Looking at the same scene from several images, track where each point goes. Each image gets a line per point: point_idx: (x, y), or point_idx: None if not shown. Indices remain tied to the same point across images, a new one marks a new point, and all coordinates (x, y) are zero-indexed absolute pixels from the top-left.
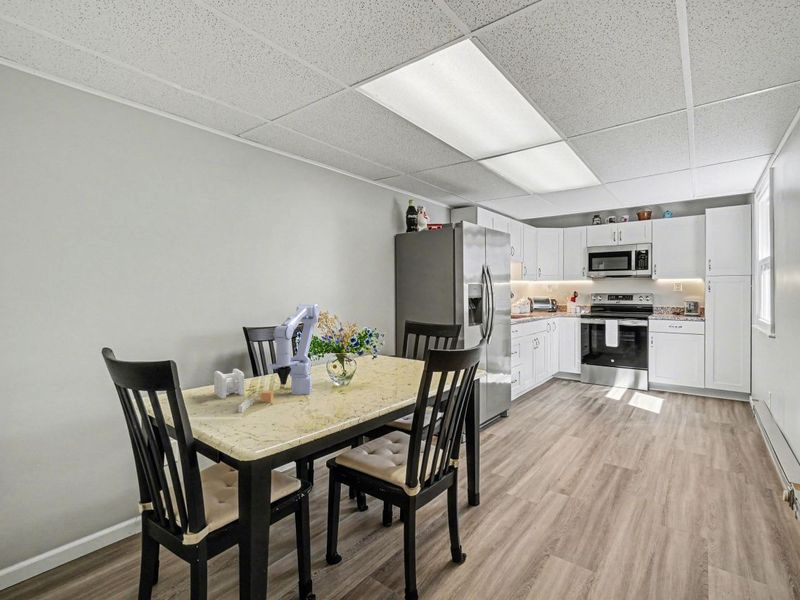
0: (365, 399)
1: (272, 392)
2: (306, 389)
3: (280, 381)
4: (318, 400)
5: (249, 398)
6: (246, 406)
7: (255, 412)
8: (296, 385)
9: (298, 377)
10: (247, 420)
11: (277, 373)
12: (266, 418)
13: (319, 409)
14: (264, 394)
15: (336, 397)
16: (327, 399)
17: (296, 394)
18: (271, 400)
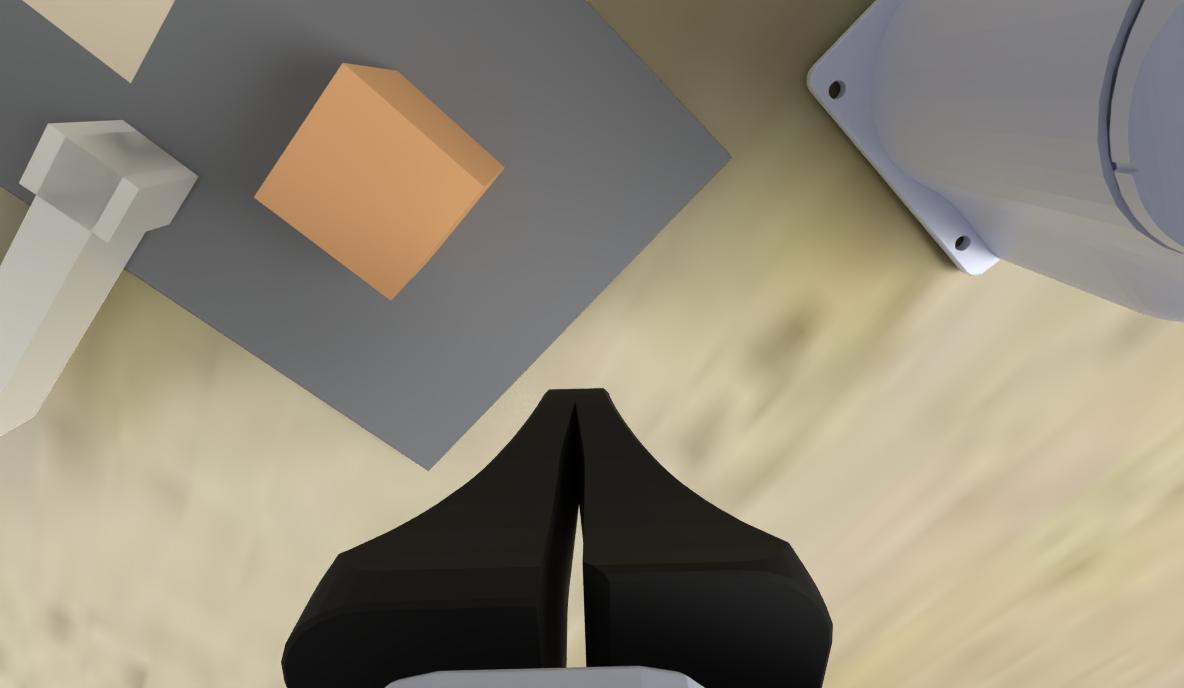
0: (1159, 662)
1: (454, 223)
2: (1033, 250)
3: (536, 413)
4: (907, 451)
5: (82, 175)
6: (68, 332)
7: (203, 401)
8: (979, 164)
9: (1140, 223)
10: (97, 548)
11: (436, 505)
12: (256, 591)
13: None
14: (310, 229)
15: (1102, 478)
16: (989, 478)
17: (889, 149)
18: (444, 240)
